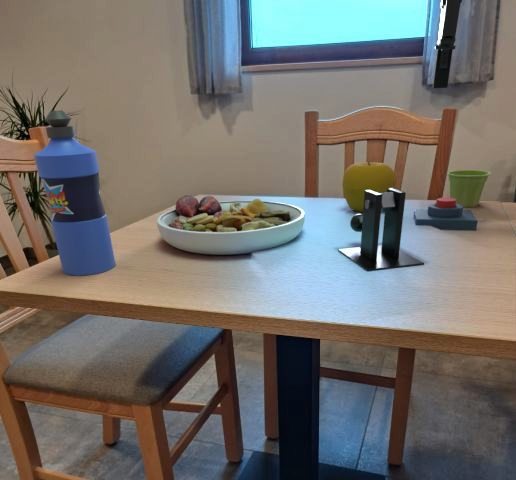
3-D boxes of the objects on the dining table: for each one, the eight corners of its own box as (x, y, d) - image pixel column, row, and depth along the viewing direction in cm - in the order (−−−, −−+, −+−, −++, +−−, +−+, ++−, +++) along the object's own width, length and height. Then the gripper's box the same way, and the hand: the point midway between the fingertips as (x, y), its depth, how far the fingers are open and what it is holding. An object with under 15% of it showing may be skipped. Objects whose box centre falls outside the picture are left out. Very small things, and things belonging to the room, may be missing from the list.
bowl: (329, 230, 100) (330, 192, 96) (251, 269, 78) (249, 223, 74) (219, 217, 115) (217, 184, 111) (128, 247, 93) (122, 207, 89)
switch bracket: (337, 255, 84) (340, 187, 78) (388, 250, 85) (394, 183, 80) (366, 276, 73) (372, 200, 68) (423, 270, 75) (434, 195, 70)
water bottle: (83, 279, 77) (46, 111, 65) (51, 270, 82) (11, 112, 70) (127, 264, 83) (100, 109, 72) (94, 256, 88) (64, 110, 77)
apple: (348, 203, 125) (351, 158, 119) (397, 206, 119) (402, 159, 114) (334, 213, 114) (336, 164, 109) (386, 216, 109) (391, 165, 104)
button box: (468, 220, 104) (472, 201, 102) (475, 231, 95) (479, 211, 93) (413, 218, 107) (415, 201, 105) (415, 229, 98) (417, 210, 96)
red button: (454, 206, 101) (455, 197, 100) (456, 209, 97) (457, 201, 96) (434, 205, 101) (435, 197, 101) (436, 209, 98) (437, 201, 97)
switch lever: (349, 234, 86) (346, 218, 86) (364, 233, 86) (362, 216, 86) (380, 210, 73) (376, 190, 73) (398, 208, 74) (395, 189, 74)
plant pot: (467, 215, 107) (474, 176, 103) (434, 209, 115) (439, 172, 110) (491, 210, 112) (499, 172, 108) (457, 204, 119) (463, 168, 115)
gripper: (434, -52, 88) (418, 89, 99) (440, -73, 77) (422, 88, 88) (476, -56, 87) (455, 87, 98) (489, -79, 76) (464, 86, 87)
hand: (439, 87), depth 93 cm, fingers closed
